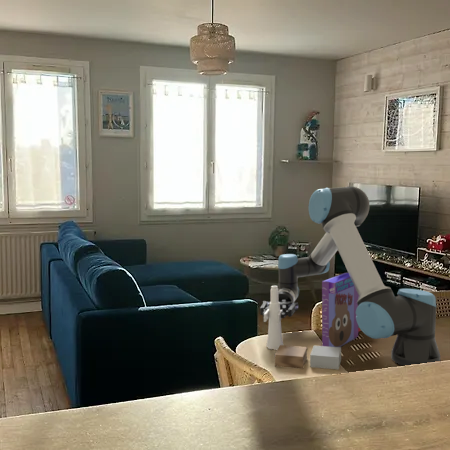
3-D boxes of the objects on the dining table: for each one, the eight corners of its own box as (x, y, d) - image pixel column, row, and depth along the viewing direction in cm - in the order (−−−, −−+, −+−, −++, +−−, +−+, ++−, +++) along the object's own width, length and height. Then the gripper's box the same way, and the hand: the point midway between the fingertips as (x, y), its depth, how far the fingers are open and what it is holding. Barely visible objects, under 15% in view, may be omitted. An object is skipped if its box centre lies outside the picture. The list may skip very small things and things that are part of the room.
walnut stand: (306, 358, 188) (306, 347, 187) (303, 368, 179) (302, 356, 179) (280, 356, 190) (280, 345, 190) (275, 366, 182) (274, 354, 181)
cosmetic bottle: (286, 345, 200) (286, 285, 197) (278, 351, 195) (277, 289, 192) (271, 342, 203) (271, 283, 200) (263, 347, 198) (262, 286, 195)
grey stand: (341, 359, 186) (341, 347, 186) (338, 369, 178) (338, 357, 177) (313, 356, 189) (313, 345, 188) (310, 367, 180) (310, 355, 180)
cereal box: (334, 350, 195) (334, 282, 191) (322, 347, 198) (322, 280, 194) (358, 337, 208) (358, 273, 204) (346, 334, 211) (346, 271, 207)
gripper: (305, 311, 213) (296, 330, 191) (262, 308, 218) (247, 327, 195) (305, 291, 212) (295, 309, 190) (261, 289, 217) (247, 306, 194)
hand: (271, 318), depth 192 cm, fingers closed on cosmetic bottle, 4 cm apart
